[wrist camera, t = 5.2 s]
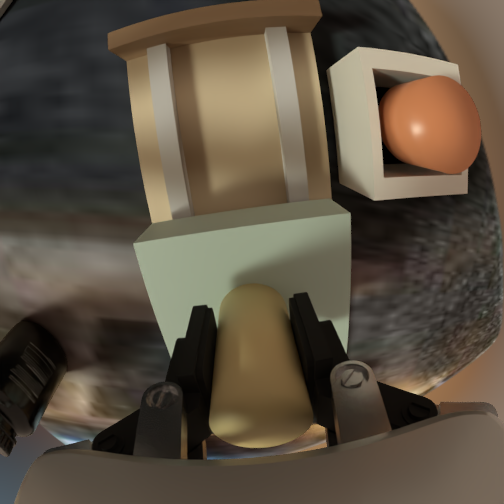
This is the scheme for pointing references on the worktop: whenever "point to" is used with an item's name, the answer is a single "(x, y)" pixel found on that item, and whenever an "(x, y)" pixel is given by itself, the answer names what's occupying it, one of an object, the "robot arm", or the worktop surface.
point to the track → (227, 107)
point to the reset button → (431, 124)
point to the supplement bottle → (27, 380)
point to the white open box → (368, 125)
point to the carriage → (252, 304)
